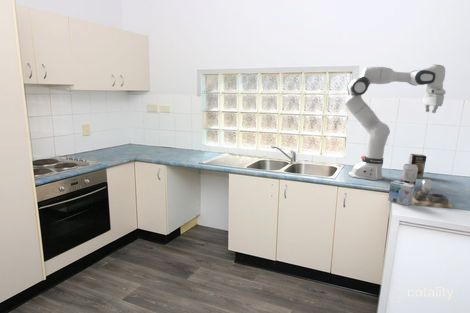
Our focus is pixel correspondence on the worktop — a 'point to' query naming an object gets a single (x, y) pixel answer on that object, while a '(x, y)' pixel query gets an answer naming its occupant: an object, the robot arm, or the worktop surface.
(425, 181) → the pipe fitting
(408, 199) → the light bulb box
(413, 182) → the supplement can
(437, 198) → the manifold plate
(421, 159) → the coffee box
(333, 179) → the worktop surface
